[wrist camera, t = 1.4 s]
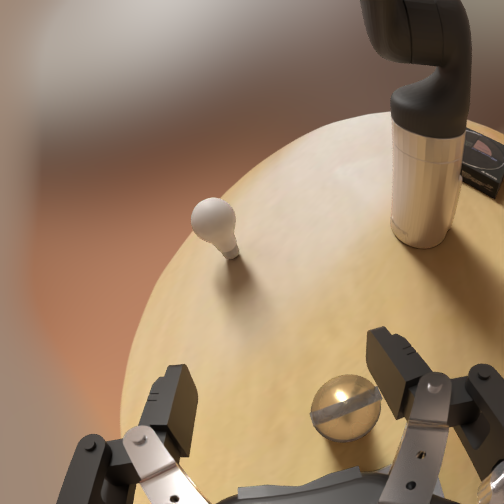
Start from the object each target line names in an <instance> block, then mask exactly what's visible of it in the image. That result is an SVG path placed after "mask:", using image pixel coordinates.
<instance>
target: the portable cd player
mask: <svg viewBox="0 0 504 504" xmlns="http://www.w3.org/2000/svg"><path fill="white" fill-rule="evenodd" d="M460 175H461V177H462V181H463V182H465V183H467V184H469V185H471V186H473V187H474V188H476V189H478V190H480V191H481V192H483V193H485V194H487V195H488V196H490V197H492V198H493V199H495V197H496V195H497V193H498V190H499V188H500V185H501V183H502V181H503V178H504V145H503V144H501V143H499V142H497V141H495V140H493V139H491V138H489V137H486V136H484V135H482V134H480V133H478V132H476V131H473V130H471V129H469V128H466V134H465V143H464V151H463V158H462V165H461V171H460Z"/></svg>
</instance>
